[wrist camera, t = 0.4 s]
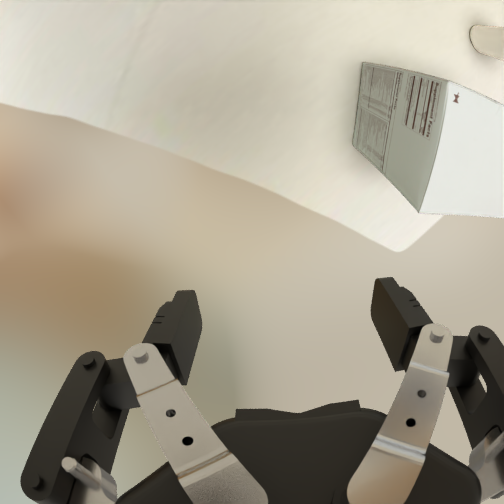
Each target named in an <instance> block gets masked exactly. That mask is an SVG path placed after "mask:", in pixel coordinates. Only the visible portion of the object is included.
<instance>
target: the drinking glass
mask: <svg viewBox="0 0 504 504" xmlns="http://www.w3.org/2000/svg"><path fill="white" fill-rule="evenodd" d="M470 37H471V41H472V44H473V46H474V47H475V49H476V50H477V51H478V52H479V53H481V54H484V55H488V56H491V57H494V58H497V59H499V60H502V61H504V27H497V26H481V25H475V26H473V27H472V29H471V32H470Z"/></svg>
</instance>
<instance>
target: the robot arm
mask: <svg viewBox="0 0 504 504" xmlns="http://www.w3.org/2000/svg"><path fill="white" fill-rule="evenodd" d="M371 317H372V321H373V323H374V325H375V327H376V330H377V332H378V334H379V336H380V338H381V341H382V343H383V345H384V347H385V349H386V352H387V354H388V356H389V358H390V361H391V363H392V366H393V368H394V370H395V372H396V371H401V370H405V372H406V374H405V377H404V379H403V382H402V384H401V387H400V389H399V391H398V393H397V395H396V398H395V400H394V402H393V404H392V407H391V409H390V411H389V413H388V415H386V414H384V413H382V412H379V411H376V410H372V409H366V408H360V404H359V400H353V401H347V402H339V403H332V404H328V405H324V406H321V407H318V408H315V409H312V410H309V411H306V412H302V413H291V412H284V411H278V410H271V409H236V415H235V418H230V419H227V420H224V421H221V422H219V423H216V424H215V425H213V426H211V427H210V426H209V425H208V423H207V422H206V420H205V419H204V418H203V416H202V415H201V413H200V412H199V410H198V409H197V408H196V406H195V405H194V403H193V402H192V400H191V399H190V397H189V396H188V394H187V393H186V392H185V390H184V388H183V387H182V385H187V382H188V378H189V374H190V371H191V367H192V363H193V360H194V356H195V352H196V349H197V345H198V342H199V338H200V335H201V331H202V319H201V314H200V310H199V305H198V301H197V297H196V293H195V291H194V290H182V291H177V292H176V294H175V296H174V298H173V301H172V302H166V303H165V304H164V305H163V306H162V307H160V308H159V310H158V312H157V314H156V317H155V318H154V320H153V322H152V324H151V326H150V328H149V330H148V331H147V334H146V336H145V338H144V340H143V342H142V343H141V344H137V345H134V346H133V347H131V348H130V349H128V350H127V351H126V353H125V355H124V358H119V359H112V360H106V359H105V357H104V355H103V354H102V353H100V352H97V351H91V352H87V353H85V354H83V355H81V356H80V357H79V358H78V360H77V361H76V362H75V364H74V366H73V367H72V369H71V371H70V373H69V375H68V376H67V378H66V380H65V382H64V384H63V386H62V388H61V389H60V391H59V393H58V395H57V397H56V399H55V401H54V403H53V405H52V407H51V409H50V411H49V413H48V415H47V417H46V419H45V421H44V423H43V425H42V428H41V430H40V432H39V434H38V436H37V438H36V441H35V443H34V445H33V448H32V450H31V452H30V455H29V457H28V460H27V462H26V465H25V467H24V470H23V472H22V475H21V487H22V490H23V492H24V493H25V494H26V496H27V497H29V498H30V499H32V500H33V501H35V502H37V503H39V504H480V503H481V502H483V501H485V500H487V499H489V498H492V499H496V498H499V497H500V496H502V495H504V346H503V344H502V343H501V341H500V340H499V338H498V337H497V336H496V334H495V333H494V332H493V331H492V330H491V329H489V328H487V327H485V326H475V327H473V328H472V329H471V330H470V333H469V335H468V336H453V335H452V333H451V331H450V330H449V329H448V328H447V327H445V326H443V325H441V324H435V323H433V322H432V320H431V319H430V318H429V316H428V315H427V313H426V312H425V310H424V309H423V308H422V306H420V303H419V302H418V301H417V300H416V298H415V297H414V295H413V294H412V292H410V291H409V290H407V289H406V288H404V287H399V285H398V284H397V282H396V281H395V280H394V278H393V277H387V278H378V279H376V280H375V284H374V290H373V297H372V304H371ZM480 374H481V375H482V377H483V379H484V381H485V383H486V385H487V393H486V392H485V390H484V388H483V386H482V384H481V382H480V380H479V376H480ZM446 387H449V390H450V392H451V394H452V397H453V399H454V402H455V404H456V406H457V409H458V411H459V414H460V417H461V419H462V421H463V425H464V427H465V430H466V433H467V436H468V439H469V441H470V444H471V447H472V452H471V454H470V458H469V465H468V466H466V465H465V464H463V463H461V462H460V461H458V460H456V459H454V458H453V457H451V456H450V455H448V454H446V453H445V452H443V451H442V450H440V449H438V448H437V447H435V446H434V445H432V444H431V443H429V442H430V439H431V436H432V433H433V430H434V428H435V425H436V422H437V418H438V415H439V412H440V408H441V405H442V402H443V398H444V394H445V390H446ZM96 402H97V403H96ZM95 404H96V406H95ZM94 407H95V408H94ZM136 407H141V408H142V411H143V413H144V415H145V417H146V419H147V421H148V423H149V425H150V427H151V429H152V431H153V433H154V435H155V437H156V439H157V441H158V443H159V445H160V447H161V449H162V451H163V452H164V454H165V456H166V458H167V460H168V462H166V463H165V464H164V465H163V466H161V467H160V468H159V469H157V470H156V471H155V472H153V473H152V474H151V475H149V476H148V477H147V478H145V479H144V480H142V481H141V482H140V483H138V484H137V485H136V486H134V487H133V488H131V489H130V490H128V491H127V492H126V493H124V494H123V495H122V496H120V497H119V498H118V499H117V485H116V482H115V480H114V478H113V477H112V476H111V475H110V474H111V470H112V466H113V463H114V459H115V455H116V452H117V448H118V445H119V442H120V438H121V435H122V431H123V428H124V425H125V422H126V419H127V415H128V412H129V409H130V408H136ZM93 409H94V410H93Z"/></svg>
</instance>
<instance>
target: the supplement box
mask: <svg viewBox="0 0 504 504" xmlns="http://www.w3.org/2000/svg"><path fill="white" fill-rule="evenodd" d="M353 146H354V147H355V148H356V149H357V150H358V151H359V152H361V153H362V154H363V155H364V156H365V157H366V158H367V159H368V160H369V161H370V162H371V163H372V164H373V165H374V166H375V167H376V168H377V169H378V170H379V171H380V172H381V173H382V174H383V175H384V176H385V177H386V178H387V179H388V180H389V181H390V182H391V183H392V184H393V185H394V186H395V187H396V188H397V189H398V190H399V191H400V193H401V194H402V195H403V196H404V197H405V198H406V199H407V200H408V201H409V202H410V203H411V205H412V206H413V207H414V208H415V209H416V210H417V212H418V213H420V214H442V215H468V216H484V217H496V218H504V105H503V104H501V103H499V102H497V101H495V100H493V99H491V98H489V97H487V96H484V95H482V94H480V93H478V92H476V91H473V90H471V89H469V88H466V87H464V86H461V85H459V84H456V83H454V82H451V81H448V80H445V79H442V78H438V77H435V76H431V75H427V74H423V73H419V72H415V71H411V70H406V69H401V68H396V67H391V66H386V65H380V64H374V63H367V62H363V68H362V77H361V86H360V94H359V102H358V110H357V117H356V124H355V131H354V138H353Z"/></svg>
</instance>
